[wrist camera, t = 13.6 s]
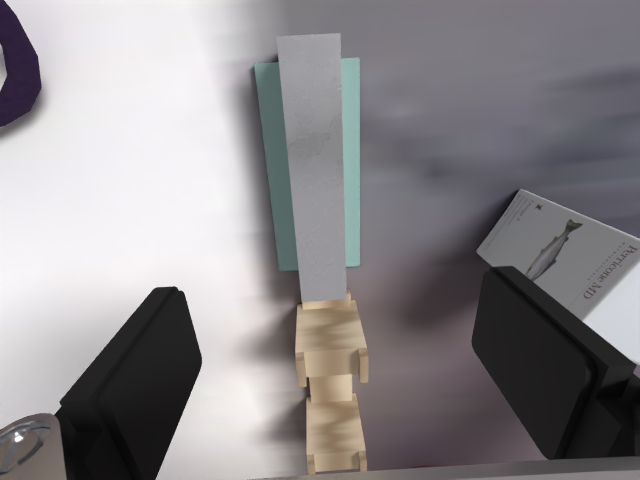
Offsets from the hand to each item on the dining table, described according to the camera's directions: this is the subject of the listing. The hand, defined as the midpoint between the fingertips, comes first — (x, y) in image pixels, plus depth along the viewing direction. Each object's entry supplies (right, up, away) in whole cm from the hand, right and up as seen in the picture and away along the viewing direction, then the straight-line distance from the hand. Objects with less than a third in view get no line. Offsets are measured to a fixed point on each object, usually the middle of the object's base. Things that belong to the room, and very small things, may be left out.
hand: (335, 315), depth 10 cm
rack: (+1, -12, +27) cm, 29 cm away
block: (-1, +8, +17) cm, 19 cm away
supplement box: (+20, +3, +21) cm, 29 cm away
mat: (-1, +8, +18) cm, 20 cm away
